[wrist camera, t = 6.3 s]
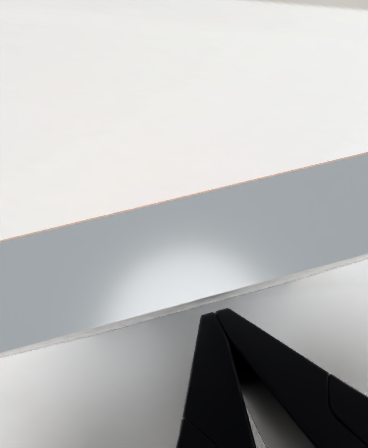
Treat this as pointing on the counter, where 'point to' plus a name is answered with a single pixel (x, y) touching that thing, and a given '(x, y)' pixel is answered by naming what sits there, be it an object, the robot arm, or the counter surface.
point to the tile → (181, 254)
